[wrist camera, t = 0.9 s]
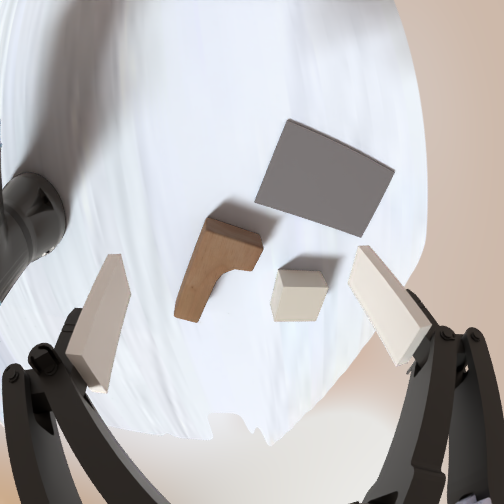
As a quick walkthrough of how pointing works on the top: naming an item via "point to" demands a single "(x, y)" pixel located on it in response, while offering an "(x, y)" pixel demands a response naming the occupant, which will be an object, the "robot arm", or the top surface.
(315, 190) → the charcoal mat
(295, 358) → the top surface
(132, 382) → the top surface
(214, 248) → the wooden block
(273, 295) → the smooth beige box
